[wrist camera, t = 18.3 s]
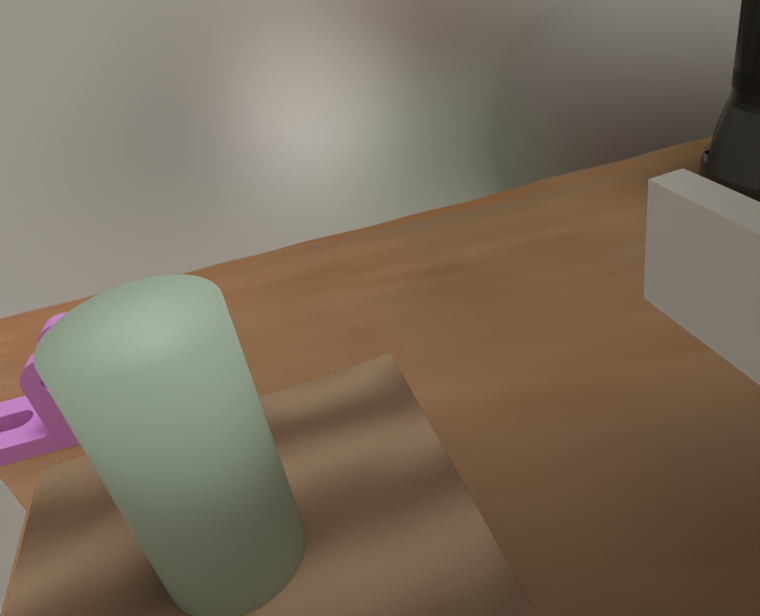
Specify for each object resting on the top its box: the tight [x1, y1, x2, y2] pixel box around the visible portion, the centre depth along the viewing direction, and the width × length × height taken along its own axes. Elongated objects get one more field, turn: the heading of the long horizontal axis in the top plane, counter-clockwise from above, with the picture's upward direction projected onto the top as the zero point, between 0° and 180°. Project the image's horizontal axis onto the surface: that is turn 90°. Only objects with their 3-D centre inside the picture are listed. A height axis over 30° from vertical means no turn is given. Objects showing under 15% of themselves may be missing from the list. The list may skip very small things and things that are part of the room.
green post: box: [33, 274, 306, 616], centre depth 24 cm, size 6×6×12 cm
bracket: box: [0, 312, 80, 466], centre depth 42 cm, size 13×6×7 cm, turn 102°
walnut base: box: [4, 353, 538, 616], centre depth 28 cm, size 20×20×4 cm
